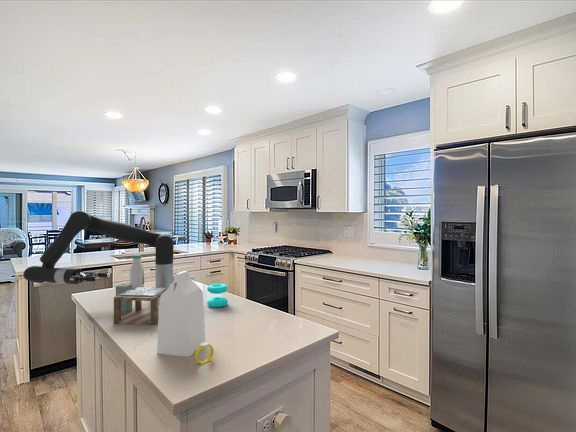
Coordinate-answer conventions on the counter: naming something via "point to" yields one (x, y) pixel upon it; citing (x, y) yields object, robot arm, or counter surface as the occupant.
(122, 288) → the soapstone block
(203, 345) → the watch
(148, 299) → the frame
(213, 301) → the donuts
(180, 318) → the milk
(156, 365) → the counter surface
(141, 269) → the milk bottle
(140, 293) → the trapdoor
